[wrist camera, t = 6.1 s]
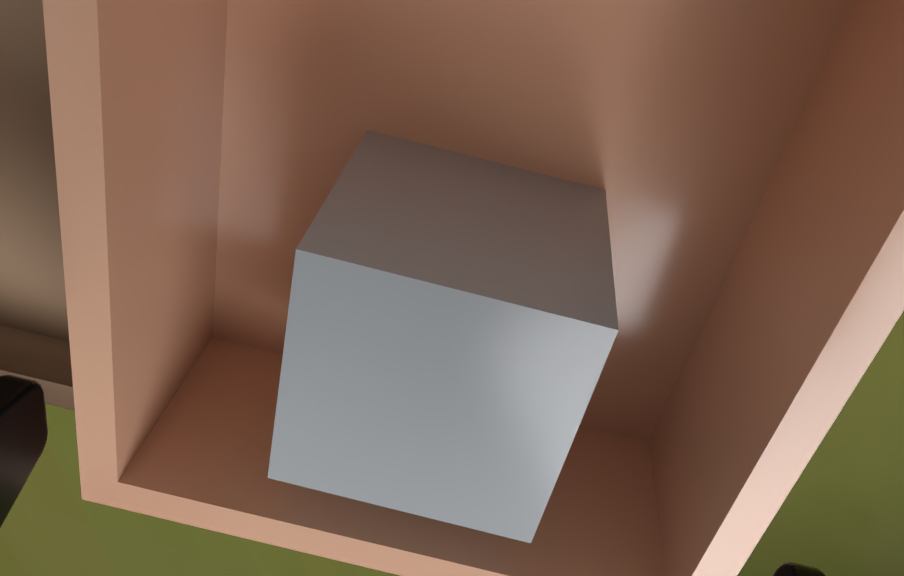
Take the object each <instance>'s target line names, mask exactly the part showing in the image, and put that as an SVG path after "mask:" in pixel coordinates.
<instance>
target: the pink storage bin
mask: <svg viewBox="0 0 904 576" xmlns="http://www.w3.org/2000/svg"><path fill="white" fill-rule="evenodd" d="M42 1H43V14H44V27H45V39H46V52H47V64H48V77H49V90H50V102H51V115H52V128H53V140H54V153H55V166H56V178H57V191H58V203H59V216H60V229H61V241H62V254H63V267H64V279H65V292H66V305H67V317H68V330H69V342H70V355H71V368H72V380H73V393H74V406H75V418H76V431H77V444H78V456H79V469H80V481H81V494H82V499H83V500H87V501H91V502H96V503H100V504H104V505H108V506H112V507H117V508H121V509H125V510H129V511H133V512H137V513H142V514H146V515H150V516H154V517H158V518H162V519H167V520H171V521H175V522H179V523H183V524H188V525H192V526H196V527H200V528H204V529H208V530H213V531H217V532H221V533H225V534H229V535H234V536H238V537H242V538H246V539H250V540H254V541H259V542H263V543H267V544H271V545H275V546H280V547H284V548H288V549H292V550H296V551H300V552H305V553H309V554H313V555H317V556H321V557H325V558H330V559H334V560H338V561H342V562H346V563H351V564H355V565H359V566H363V567H367V568H371V569H376V570H380V571H384V572H388V573H392V574H397V575H401V576H737V575H738V573H739V572H740V570H741V569H742V567H743V565H744V564H745V562H746V561H747V559H748V557H749V556H750V554H751V553H752V551H753V549H754V548H755V546H756V545H757V543H758V541H759V540H760V538H761V537H762V535H763V534H764V532H765V530H766V529H767V527H768V526H769V524H770V522H771V521H772V519H773V518H774V516H775V514H776V513H777V511H778V510H779V508H780V506H781V505H782V503H783V502H784V500H785V498H786V497H787V495H788V494H789V492H790V491H791V489H792V487H793V486H794V484H795V483H796V481H797V479H798V478H799V476H800V475H801V473H802V471H803V470H804V468H805V467H806V465H807V463H808V462H809V460H810V459H811V457H812V455H813V454H814V452H815V451H816V449H817V448H818V446H819V444H820V443H821V441H822V440H823V438H824V436H825V435H826V433H827V432H828V430H829V428H830V427H831V425H832V424H833V422H834V420H835V419H836V417H837V416H838V414H839V413H840V411H841V409H842V408H843V406H844V405H845V403H846V401H847V400H848V398H849V397H850V395H851V393H852V392H853V390H854V389H855V387H856V385H857V384H858V382H859V381H860V379H861V377H862V376H863V374H864V373H865V371H866V370H867V368H868V366H869V365H870V363H871V362H872V360H873V358H874V357H875V355H876V354H877V352H878V350H879V349H880V347H881V346H882V344H883V342H884V341H885V339H886V338H887V336H888V334H889V333H890V331H891V330H892V328H893V327H894V325H895V323H896V322H897V320H898V319H899V317H900V315H901V314H902V312H903V311H904V0H42ZM367 130H369V131H373V132H377V133H381V134H385V135H389V136H393V137H397V138H401V139H405V140H409V141H413V142H417V143H421V144H425V145H429V146H433V147H437V148H440V149H444V150H448V151H452V152H456V153H460V154H464V155H468V156H472V157H476V158H480V159H484V160H488V161H492V162H496V163H500V164H504V165H508V166H512V167H515V168H519V169H523V170H527V171H531V172H535V173H539V174H543V175H547V176H551V177H555V178H559V179H563V180H567V181H571V182H575V183H579V184H583V185H587V186H591V187H594V188H598V189H602V190H606V200H607V211H608V222H609V232H610V243H611V254H612V265H613V276H614V287H615V298H616V309H617V319H618V333H617V335H616V338H615V340H614V342H613V345H612V347H611V350H610V352H609V355H608V357H607V359H606V362H605V364H604V367H603V369H602V372H601V374H600V376H599V379H598V381H597V384H596V386H595V389H594V391H593V393H592V396H591V398H590V401H589V403H588V406H587V408H586V411H585V413H584V415H583V418H582V420H581V423H580V425H579V428H578V430H577V432H576V435H575V437H574V440H573V442H572V445H571V447H570V449H569V452H568V454H567V457H566V459H565V462H564V464H563V466H562V469H561V471H560V474H559V476H558V479H557V481H556V484H555V486H554V488H553V491H552V493H551V496H550V498H549V501H548V503H547V505H546V508H545V510H544V513H543V515H542V518H541V520H540V522H539V525H538V527H537V530H536V532H535V535H534V537H533V539H532V542H531V543H527V542H523V541H519V540H515V539H511V538H507V537H503V536H499V535H495V534H491V533H487V532H483V531H479V530H475V529H471V528H467V527H463V526H459V525H455V524H451V523H447V522H443V521H439V520H435V519H431V518H427V517H423V516H419V515H415V514H411V513H407V512H403V511H399V510H395V509H391V508H387V507H383V506H379V505H375V504H371V503H367V502H363V501H358V500H354V499H350V498H346V497H342V496H338V495H334V494H330V493H326V492H322V491H318V490H314V489H310V488H306V487H302V486H298V485H294V484H290V483H286V482H282V481H278V480H274V479H270V478H268V470H269V462H270V454H271V446H272V438H273V430H274V422H275V414H276V406H277V398H278V390H279V382H280V374H281V365H282V357H283V349H284V341H285V333H286V325H287V317H288V309H289V301H290V293H291V285H292V277H293V269H294V261H295V253H296V248H297V246H298V245H299V243H300V241H301V240H302V238H303V236H304V235H305V233H306V231H307V230H308V228H309V226H310V225H311V223H312V221H313V220H314V218H315V216H316V215H317V213H318V211H319V210H320V208H321V206H322V205H323V203H324V201H325V200H326V198H327V196H328V195H329V193H330V191H331V190H332V188H333V186H334V185H335V183H336V181H337V180H338V178H339V176H340V175H341V173H342V171H343V170H344V168H345V166H346V165H347V163H348V161H349V160H350V158H351V156H352V155H353V153H354V151H355V150H356V148H357V146H358V145H359V143H360V141H361V140H362V138H363V136H364V135H365V133H366V131H367Z"/></svg>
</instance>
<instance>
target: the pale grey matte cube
mask: <svg viewBox="0 0 904 576" xmlns="http://www.w3.org/2000/svg"><path fill="white" fill-rule="evenodd" d="M617 333H618V319H617V309H616V298H615V287H614V276H613V265H612V254H611V243H610V232H609V222H608V211H607V200H606V190H602V189H598V188H594V187H591V186H587V185H583V184H579V183H575V182H571V181H567V180H563V179H559V178H555V177H551V176H547V175H543V174H539V173H535V172H531V171H527V170H523V169H519V168H515V167H512V166H508V165H504V164H500V163H496V162H492V161H488V160H484V159H480V158H476V157H472V156H468V155H464V154H460V153H456V152H452V151H448V150H444V149H440V148H437V147H433V146H429V145H425V144H421V143H417V142H413V141H409V140H405V139H401V138H397V137H393V136H389V135H385V134H381V133H377V132H373V131H369V130H367V131H366V133H365V135H364V136H363V138H362V140H361V141H360V143H359V145H358V146H357V148H356V150H355V151H354V153H353V155H352V156H351V158H350V160H349V161H348V163H347V165H346V166H345V168H344V170H343V171H342V173H341V175H340V176H339V178H338V180H337V181H336V183H335V185H334V186H333V188H332V190H331V191H330V193H329V195H328V196H327V198H326V200H325V201H324V203H323V205H322V206H321V208H320V210H319V211H318V213H317V215H316V216H315V218H314V220H313V221H312V223H311V225H310V226H309V228H308V230H307V231H306V233H305V235H304V236H303V238H302V240H301V241H300V243H299V245H298V246H297V248H296V253H295V261H294V269H293V277H292V285H291V293H290V301H289V309H288V317H287V325H286V333H285V341H284V349H283V357H282V365H281V374H280V382H279V390H278V398H277V406H276V414H275V422H274V430H273V438H272V446H271V454H270V462H269V470H268V478H270V479H274V480H278V481H282V482H286V483H290V484H294V485H298V486H302V487H306V488H310V489H314V490H318V491H322V492H326V493H330V494H334V495H338V496H342V497H346V498H350V499H354V500H358V501H363V502H367V503H371V504H375V505H379V506H383V507H387V508H391V509H395V510H399V511H403V512H407V513H411V514H415V515H419V516H423V517H427V518H431V519H435V520H439V521H443V522H447V523H451V524H455V525H459V526H463V527H467V528H471V529H475V530H479V531H483V532H487V533H491V534H495V535H499V536H503V537H507V538H511V539H515V540H519V541H523V542H527V543H531V542H532V539H533V537H534V535H535V532H536V530H537V527H538V525H539V522H540V520H541V518H542V515H543V513H544V510H545V508H546V505H547V503H548V501H549V498H550V496H551V493H552V491H553V488H554V486H555V484H556V481H557V479H558V476H559V474H560V471H561V469H562V466H563V464H564V462H565V459H566V457H567V454H568V452H569V449H570V447H571V445H572V442H573V440H574V437H575V435H576V432H577V430H578V428H579V425H580V423H581V420H582V418H583V415H584V413H585V411H586V408H587V406H588V403H589V401H590V398H591V396H592V393H593V391H594V389H595V386H596V384H597V381H598V379H599V376H600V374H601V372H602V369H603V367H604V364H605V362H606V359H607V357H608V355H609V352H610V350H611V347H612V345H613V342H614V340H615V338H616V335H617Z"/></svg>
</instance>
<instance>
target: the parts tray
mask: <svg viewBox="0 0 904 576" xmlns="http://www.w3.org/2000/svg"><path fill="white" fill-rule="evenodd" d="M3 375H13V376H17V377H21V378H25V379H30V380H34V381H36V382H38V383H40V385H41V386H42V388H43V391H44V399H45V403H46V404H50V405H54V406H59V407H63V408H67V409H71V410H75V406H74V393H73V380H72V368H71V355H70V342H69V330H68V317H67V305H66V292H65V279H64V267H63V254H62V241H61V229H60V216H59V203H58V191H57V178H56V166H55V153H54V140H53V128H52V115H51V102H50V90H49V77H48V64H47V52H46V39H45V27H44V14H43V1H42V0H0V376H3Z"/></svg>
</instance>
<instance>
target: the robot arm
mask: <svg viewBox="0 0 904 576" xmlns="http://www.w3.org/2000/svg"><path fill="white" fill-rule="evenodd" d="M47 435H48V428H47V419H46V409H45V399H44V391H43V388H42V386H41V385H40V383H38V382H36V381H34V380H30V379H25V378H21V377H17V376H13V375H3V376H0V527H1V526H2V524H3V522H4V520H5V518H6V517H7V515H8V513H9V511H10V509H11V508H12V506H13V504H14V502H15V500H16V499H17V497H18V495H19V493H20V491H21V490H22V488H23V486H24V484H25V482H26V481H27V479H28V477H29V475H30V473H31V472H32V470H33V468H34V466H35V464H36V462H37V461H38V459H39V457H40V455H41V453H42V451H43V449H44V447H45V444H46V440H47ZM773 576H826V575H825V574H824V573H823V572H821V571H820V570H818V569H816V568H813V567H809V566H805V565H801V564H797V563H792V562H785V563H783V564H781V565H780V566H779V567H778V568H777V570H776V571H775V573H774V574H773Z"/></svg>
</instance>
